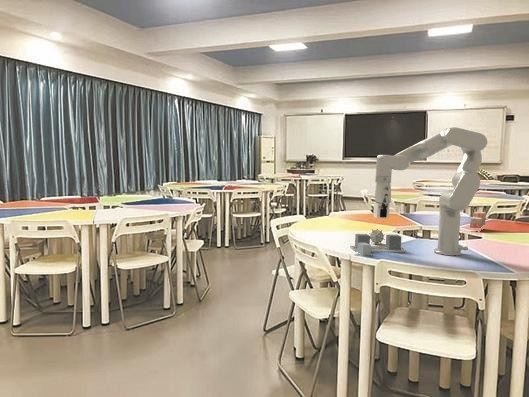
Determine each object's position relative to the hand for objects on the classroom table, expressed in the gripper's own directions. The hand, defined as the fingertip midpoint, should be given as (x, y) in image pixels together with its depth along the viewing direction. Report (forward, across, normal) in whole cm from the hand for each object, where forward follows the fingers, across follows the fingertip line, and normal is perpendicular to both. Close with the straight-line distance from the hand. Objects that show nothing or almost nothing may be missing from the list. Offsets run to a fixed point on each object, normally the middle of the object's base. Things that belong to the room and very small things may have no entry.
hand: (381, 216), depth 214 cm
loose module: (+1, 0, 0) cm, 1 cm away
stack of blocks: (+17, +73, -98) cm, 123 cm away
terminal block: (+18, -8, +10) cm, 22 cm away
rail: (+18, +2, 0) cm, 18 cm away
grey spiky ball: (+18, +19, -6) cm, 26 cm away
